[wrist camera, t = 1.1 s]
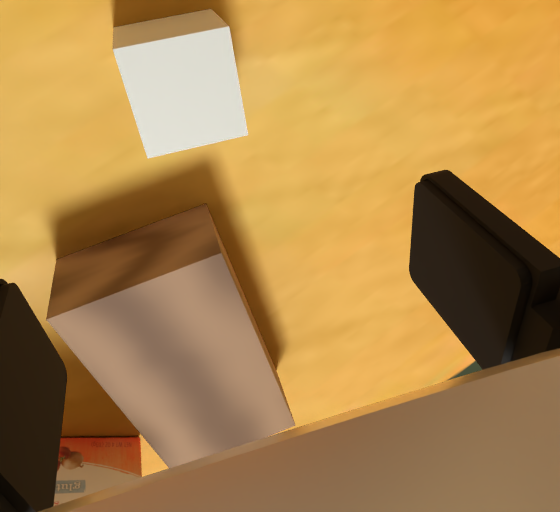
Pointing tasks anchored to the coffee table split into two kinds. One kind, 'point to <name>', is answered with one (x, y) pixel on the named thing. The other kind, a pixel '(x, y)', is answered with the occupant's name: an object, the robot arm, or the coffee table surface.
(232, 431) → the walnut block
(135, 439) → the cracker box
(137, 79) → the white cube
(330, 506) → the robot arm
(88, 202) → the coffee table surface
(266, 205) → the coffee table surface
